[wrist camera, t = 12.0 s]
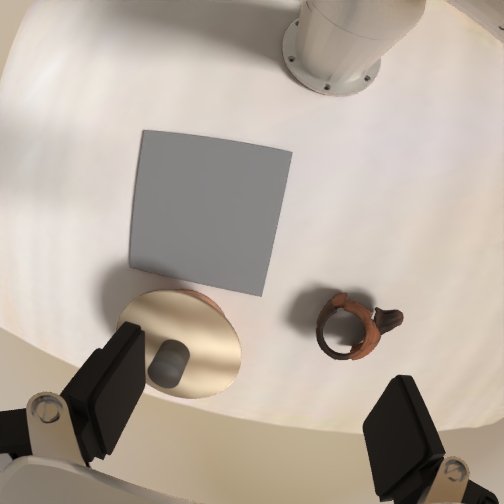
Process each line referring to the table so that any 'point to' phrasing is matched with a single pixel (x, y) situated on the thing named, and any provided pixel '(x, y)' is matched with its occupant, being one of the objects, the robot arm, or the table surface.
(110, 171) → the table surface
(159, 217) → the mat
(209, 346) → the lid
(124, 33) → the table surface
